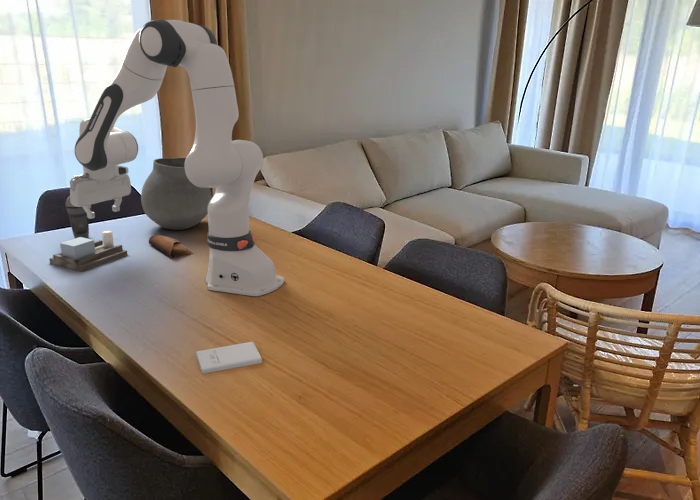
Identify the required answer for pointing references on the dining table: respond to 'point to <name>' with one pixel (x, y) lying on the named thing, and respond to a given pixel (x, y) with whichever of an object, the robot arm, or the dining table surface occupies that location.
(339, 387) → the dining table surface
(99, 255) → the tray
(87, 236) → the beverage cup
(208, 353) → the external hard drive
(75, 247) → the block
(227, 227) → the robot arm
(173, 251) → the sunglasses case
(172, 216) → the ceramic pot
